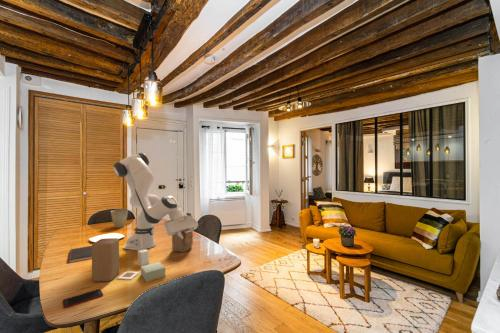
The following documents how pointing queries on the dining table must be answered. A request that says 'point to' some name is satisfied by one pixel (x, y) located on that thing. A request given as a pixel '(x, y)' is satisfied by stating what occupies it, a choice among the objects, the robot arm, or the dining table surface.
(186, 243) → the walnut block
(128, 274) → the card
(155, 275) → the base block
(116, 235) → the plate
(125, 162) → the robot arm
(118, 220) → the plant pot
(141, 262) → the off-white block
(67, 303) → the cell phone
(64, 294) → the dining table surface
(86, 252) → the hardcover book
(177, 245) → the block
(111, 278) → the wooden block
